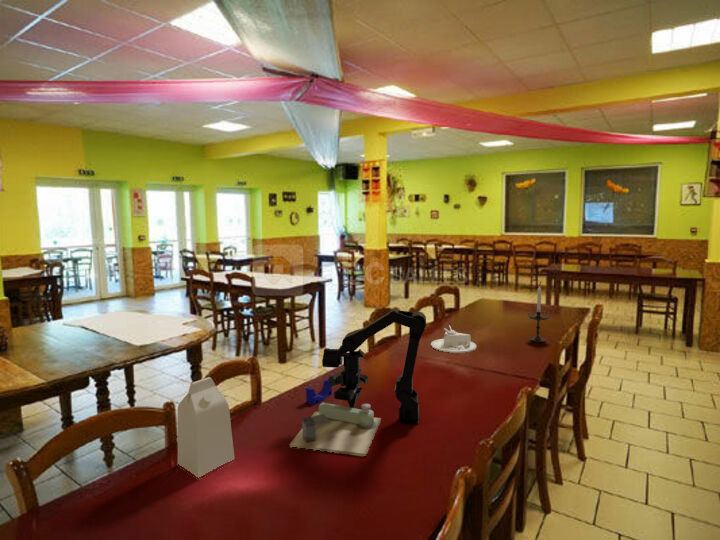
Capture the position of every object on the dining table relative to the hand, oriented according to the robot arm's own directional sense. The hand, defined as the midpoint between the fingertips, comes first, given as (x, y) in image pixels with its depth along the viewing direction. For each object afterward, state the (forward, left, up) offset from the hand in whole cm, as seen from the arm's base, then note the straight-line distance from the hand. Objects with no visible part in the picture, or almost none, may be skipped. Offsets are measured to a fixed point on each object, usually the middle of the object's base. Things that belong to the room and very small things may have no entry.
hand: (352, 408), depth 160 cm
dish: (-33, -95, -4) cm, 101 cm away
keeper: (+7, +19, -2) cm, 21 cm away
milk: (+35, +39, -3) cm, 53 cm away
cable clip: (+17, -13, -4) cm, 21 cm away
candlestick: (-80, -116, -3) cm, 141 cm away
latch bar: (+1, +6, -1) cm, 6 cm away
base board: (+1, +13, -3) cm, 13 cm away
